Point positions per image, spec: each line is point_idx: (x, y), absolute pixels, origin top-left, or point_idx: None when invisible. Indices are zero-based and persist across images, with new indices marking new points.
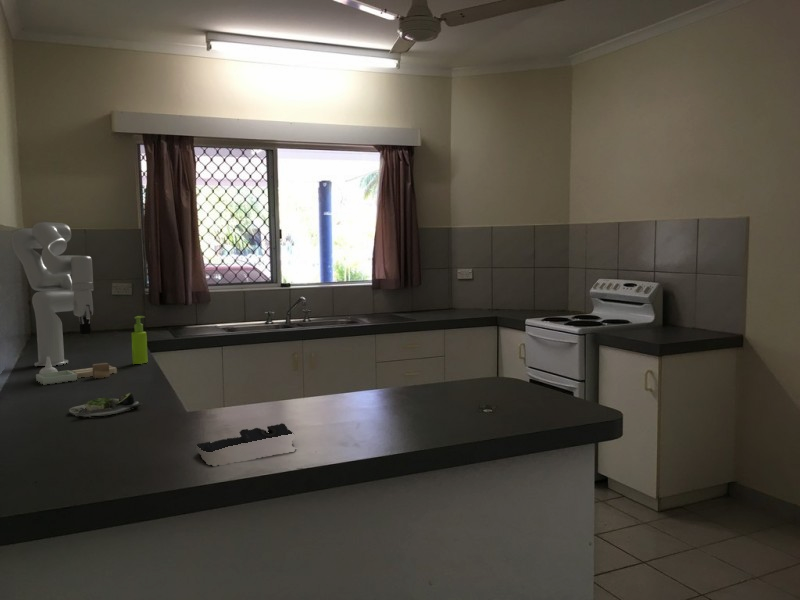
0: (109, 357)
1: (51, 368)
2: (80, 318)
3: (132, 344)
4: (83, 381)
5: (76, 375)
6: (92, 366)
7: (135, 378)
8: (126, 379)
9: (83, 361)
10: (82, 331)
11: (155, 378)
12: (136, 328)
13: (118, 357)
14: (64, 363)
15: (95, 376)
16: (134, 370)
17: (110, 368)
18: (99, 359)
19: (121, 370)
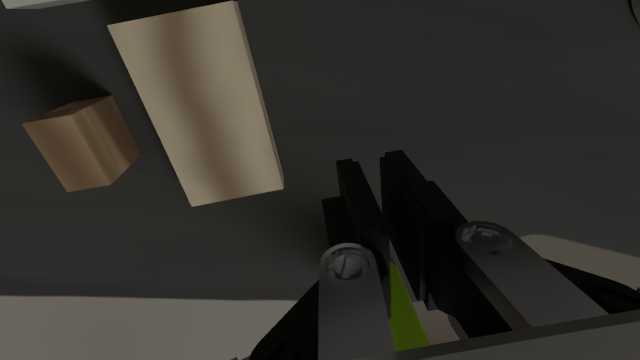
0: (618, 209)
1: None
2: (507, 308)
3: (393, 328)
4: (6, 37)
5: (10, 5)
6: (78, 111)
7: (25, 235)
8: (9, 207)
9: (632, 110)
10: (342, 180)
11: (2, 284)
12: None
13: (582, 234)
14: (637, 11)
15: (65, 105)
16: (227, 249)
17: (190, 184)
18: (611, 173)
19: (256, 214)
